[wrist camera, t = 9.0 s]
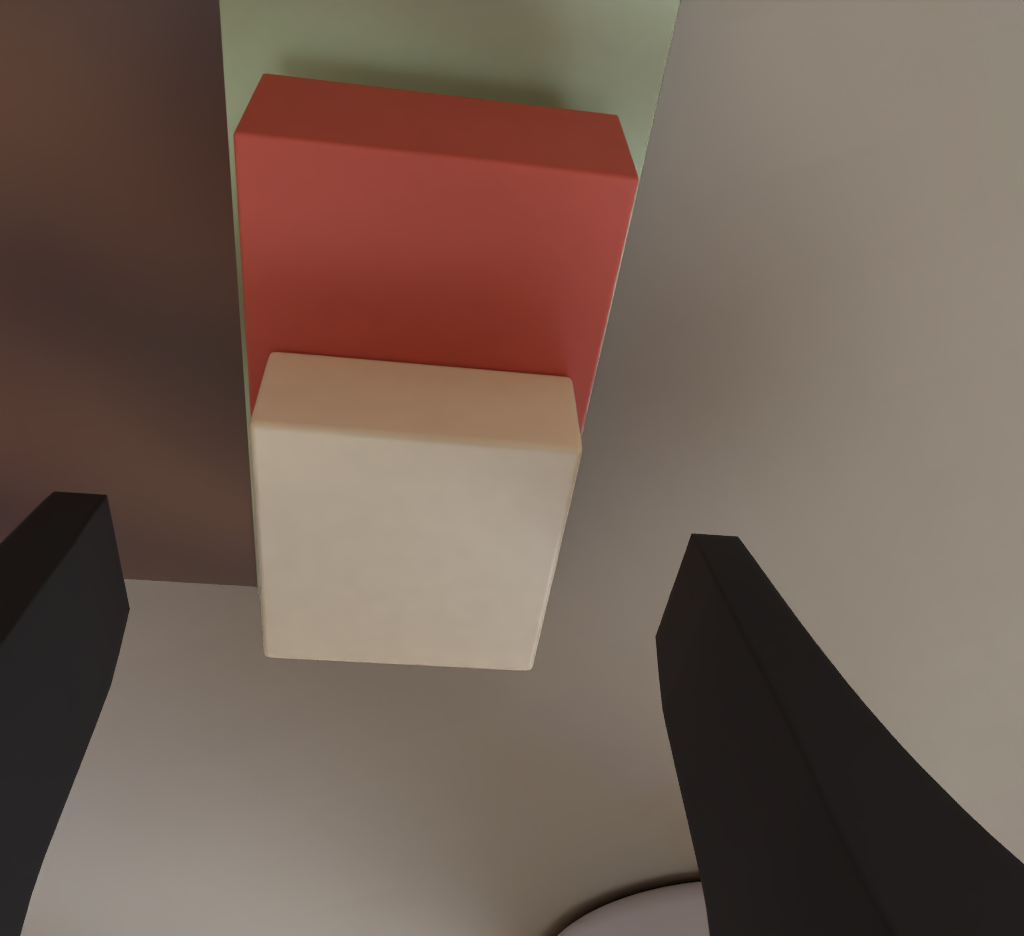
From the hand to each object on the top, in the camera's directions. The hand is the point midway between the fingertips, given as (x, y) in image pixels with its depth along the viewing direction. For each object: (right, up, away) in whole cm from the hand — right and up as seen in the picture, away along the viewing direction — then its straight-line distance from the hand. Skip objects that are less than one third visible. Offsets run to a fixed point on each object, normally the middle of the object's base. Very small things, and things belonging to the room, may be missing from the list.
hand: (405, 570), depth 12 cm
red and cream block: (0, +3, +4) cm, 5 cm away
